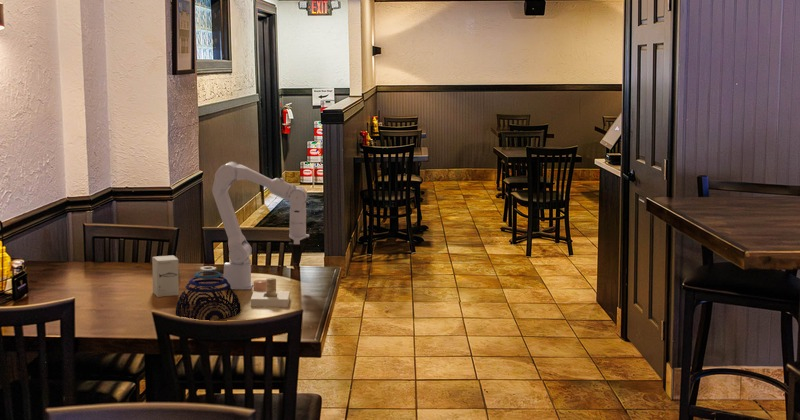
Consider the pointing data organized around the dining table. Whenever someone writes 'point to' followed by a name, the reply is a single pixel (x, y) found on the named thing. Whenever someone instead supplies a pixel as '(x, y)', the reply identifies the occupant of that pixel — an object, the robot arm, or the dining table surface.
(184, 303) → the decorative bowl
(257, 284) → the terracotta peg
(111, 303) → the dining table surface
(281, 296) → the hole plate
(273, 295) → the beech pin
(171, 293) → the supplement box
